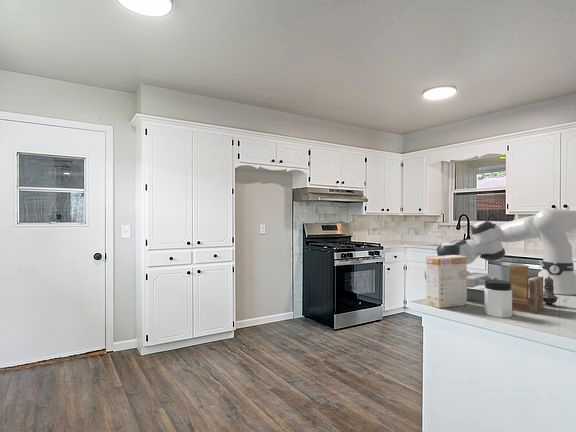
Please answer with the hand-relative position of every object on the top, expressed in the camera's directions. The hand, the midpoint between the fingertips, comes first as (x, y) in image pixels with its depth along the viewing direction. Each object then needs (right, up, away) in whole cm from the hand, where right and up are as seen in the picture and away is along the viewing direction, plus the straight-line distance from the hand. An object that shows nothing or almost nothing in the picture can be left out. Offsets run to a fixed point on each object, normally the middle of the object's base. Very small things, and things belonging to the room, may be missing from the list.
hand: (494, 281), depth 151 cm
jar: (-10, -8, -20) cm, 24 cm away
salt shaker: (+18, -8, -6) cm, 21 cm away
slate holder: (-5, -8, +6) cm, 12 cm away
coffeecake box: (-22, -8, -5) cm, 24 cm away
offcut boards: (+2, -8, -10) cm, 13 cm away
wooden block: (+6, -8, -6) cm, 12 cm away
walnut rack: (+4, -8, -9) cm, 13 cm away
